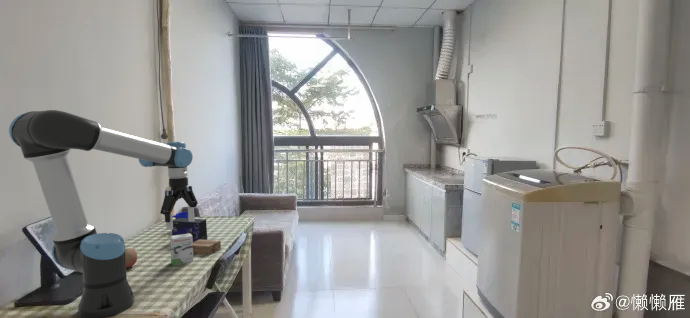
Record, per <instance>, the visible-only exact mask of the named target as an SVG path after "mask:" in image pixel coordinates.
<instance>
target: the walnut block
mask: <svg viewBox="0 0 690 318" xmlns="http://www.w3.org/2000/svg"><path fill="white" fill-rule="evenodd" d="M221 245H222V243H221V240H212V239H207V240H202V239H199V240H197V241H195V242H193V253H194V254H195V255H205V256H210V255H212V254H214V253H216V252H218V251H220V250H221V249H222V246H221ZM194 254H193V255H194Z"/></svg>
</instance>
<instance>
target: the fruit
mask: <svg viewBox="0 0 690 318" xmlns="http://www.w3.org/2000/svg"><path fill="white" fill-rule="evenodd" d="M125 258H126V269H129V268H131V267H133V266H134V265H135V264H136V263H137V260H138V254H137V252H136V250H135V249H133V248H131V247H127V248H125Z"/></svg>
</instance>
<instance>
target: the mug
mask: <svg viewBox="0 0 690 318" xmlns="http://www.w3.org/2000/svg"><path fill="white" fill-rule="evenodd" d="M172 218H175V219H178V218H188V211H183V212H177V213H175V215H172Z"/></svg>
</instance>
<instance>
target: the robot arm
mask: <svg viewBox="0 0 690 318" xmlns="http://www.w3.org/2000/svg"><path fill="white" fill-rule="evenodd" d="M8 134H9V137H10V139H11V140H12V142H13V143H14V144H15V145H17V146H18V147H19V148H20V150H21V153H22V156H23V158H24V159H25V160H27V161H28V162H31V163H32V164H33V167H34V170H35V171H34V172H35V173H36V176H37V179H38V182H39V185H40V188H41V190H42V193H43V197H44V200H45V202H46V205H47V208H48V212H49V214H50V217H51V220H52V222H53V226H54V229H55V234H54V235H53V236H52V242H53V246H52V249H51V256H52V259H53V261H54V262H55V263H56V264H57V265H59V266H60V267H62V268H64V269H65V270H70V271H75V272H79V273H81V274H82V281H83V291H82V293H81V296H80V297H81V298H80V302H79V304H78V307H77V309H78V310H77V312H78V316H79V317H80V318H106V317H110V316H113V315H116V314H120V313H121V312H124V311H126V310H127V309H129V308H130V307H131V306H133V305H134V303H135V295H134V292H133V290H132V288H131V285H130V284H129V282H128V278H127V276H128V275H127V268H126V258H125V249H126V243H125V239H124V237H123V236H122V235H120V234H118V233H113V232H109V233H107V232H102V233H101V232H100V233H99V232H97V230H96V227H95V224H91V223H89V222H88V220H87V217H86V216H87V215H86V214H85V210H84V206H83V204H82V201H81V197H80V193H79V191H78V187H77V185H76V182H75V179H74V174H73V172H72V168H71V165H70V163H69V160H68V154H69V153H70V151H71V150H81V151H85V152H89V151H92V150H96V151H101V152H105V153H109V154H114V155H120V156H124V157H129V158H133V159H138V162H139V164H140V166H142V167H144V168H147V167H149V168H151V167H167V171H168V174H167V175H168V186H169V187H170V190H165V191H164V198H163V203H162V206H161V209H160V214H161V215H164V222H165V229H166V230H168V231H169V230H171V231H172V230H173V220H174V219H173V217H172V216H173V214H172V211H173V209H174V207H175V205H176V203H177V201H179V200H181V199H183V200H184V202H185V203H186V205H188V207H187V212H188V220H189V221H191V222H194V221H195V219H196V218H195V211H196V209H195V208H197V205H198V203H199V202H198V200H197V198H196V196H195V193H194V191H193V186H192V185H189V177H188V166H190V165H191V163H192V162H193V153H192V151H191V150H190V149H189V148H187V145H186V143H185V142H184V141H168V142H167V143H162V142H158V141H155V140H152V139H148V138H144V137H141V136H137V135H133V134H130V133H125V132H122V131H119V130H115V129H112V128H108V127H104V126H101V125H100V123H99V122H98V121H94V120H91V119H88V118H85V117H82V116H79V115H76V114H74V113H73V114H72V113H69V112H66V111H64V110H63V111H62V110H56V109H49V110H48V109H47V110H38V111H37V110H35V111H33V110H32V111H27V112H24V113H22V114H20V115H18V116H15V118H14V119H13V120H12V121H11V123H10V125H9V128H8Z"/></svg>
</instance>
